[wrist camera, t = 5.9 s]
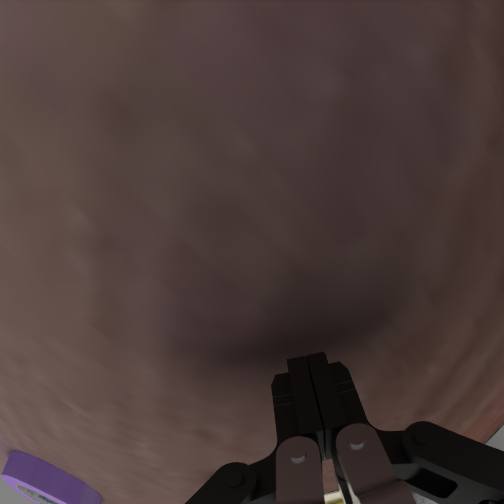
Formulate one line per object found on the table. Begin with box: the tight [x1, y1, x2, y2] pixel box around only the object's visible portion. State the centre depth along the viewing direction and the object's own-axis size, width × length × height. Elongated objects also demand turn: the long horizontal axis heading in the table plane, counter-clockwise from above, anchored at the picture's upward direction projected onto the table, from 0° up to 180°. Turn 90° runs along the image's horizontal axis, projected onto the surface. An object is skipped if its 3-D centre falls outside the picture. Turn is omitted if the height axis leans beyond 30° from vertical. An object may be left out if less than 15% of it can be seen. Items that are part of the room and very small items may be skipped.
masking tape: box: [2, 451, 102, 504], centre depth 20 cm, size 12×12×4 cm
